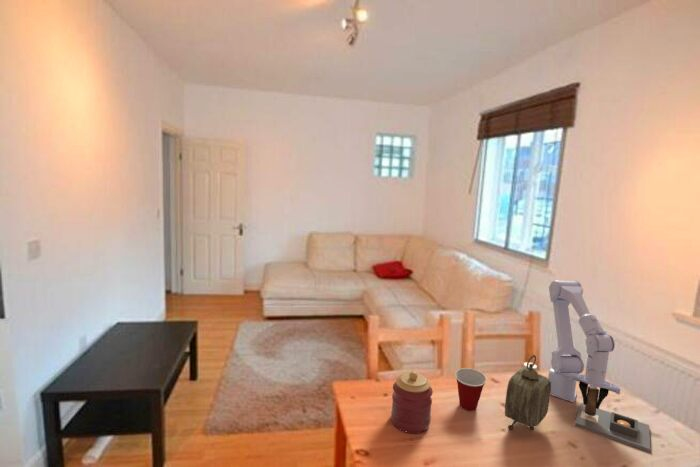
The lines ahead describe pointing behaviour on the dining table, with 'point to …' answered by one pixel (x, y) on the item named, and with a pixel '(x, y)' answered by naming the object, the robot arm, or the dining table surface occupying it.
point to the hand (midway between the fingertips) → (591, 405)
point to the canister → (411, 402)
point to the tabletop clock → (527, 397)
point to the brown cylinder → (591, 401)
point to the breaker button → (623, 423)
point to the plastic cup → (469, 387)
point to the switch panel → (615, 427)
